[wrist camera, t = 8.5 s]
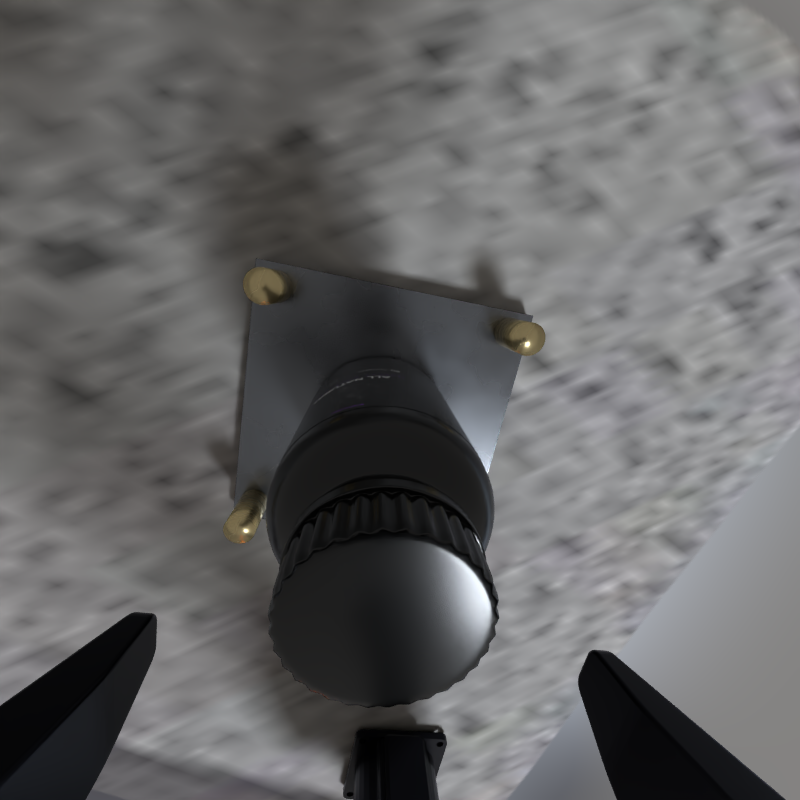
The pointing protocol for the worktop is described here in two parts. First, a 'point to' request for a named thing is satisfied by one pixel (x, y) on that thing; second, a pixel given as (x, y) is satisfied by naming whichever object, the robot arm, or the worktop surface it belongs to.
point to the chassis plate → (357, 339)
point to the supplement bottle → (380, 541)
